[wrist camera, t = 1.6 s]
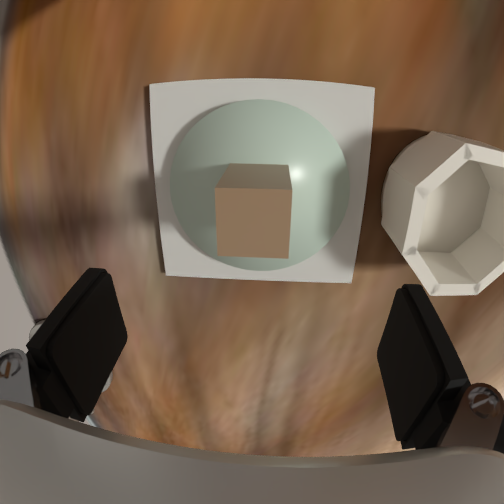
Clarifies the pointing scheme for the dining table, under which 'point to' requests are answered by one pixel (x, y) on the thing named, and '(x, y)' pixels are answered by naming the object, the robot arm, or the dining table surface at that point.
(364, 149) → the mat
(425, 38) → the dining table surface
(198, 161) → the lid
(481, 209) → the bowl
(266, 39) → the dining table surface
